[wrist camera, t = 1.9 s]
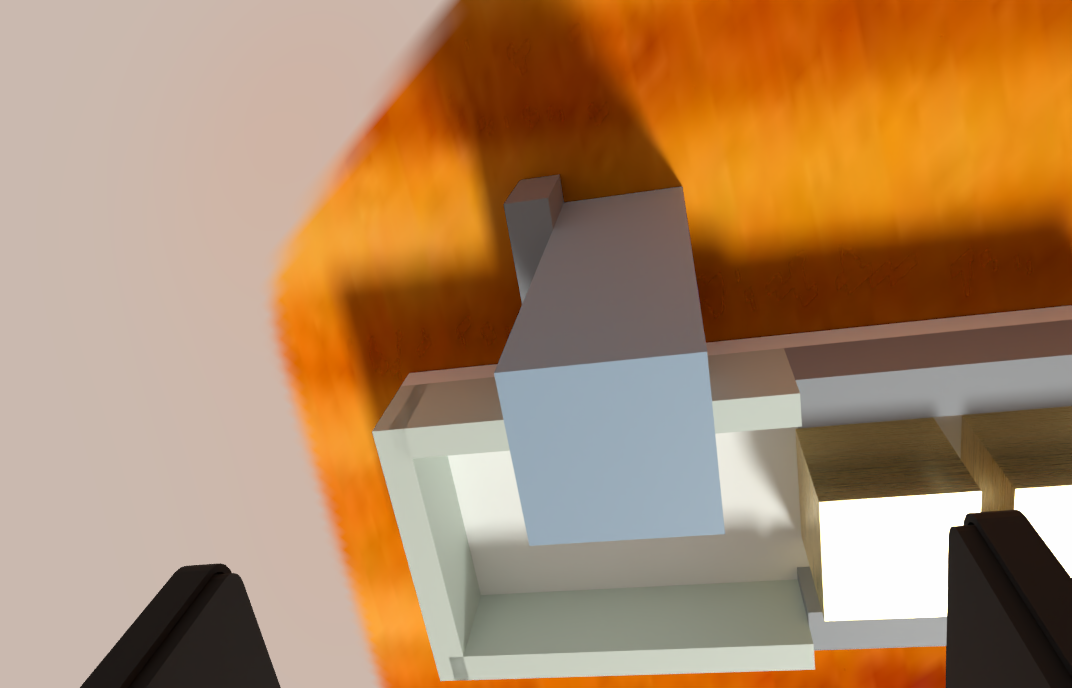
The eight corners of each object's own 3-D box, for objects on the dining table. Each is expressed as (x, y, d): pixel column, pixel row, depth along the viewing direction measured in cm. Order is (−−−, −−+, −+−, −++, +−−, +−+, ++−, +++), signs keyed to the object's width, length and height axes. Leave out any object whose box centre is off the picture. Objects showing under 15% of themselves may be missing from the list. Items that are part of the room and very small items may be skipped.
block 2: (961, 415, 25) (1015, 488, 21) (1109, 402, 24) (1192, 477, 20) (958, 526, 26) (1008, 613, 22) (1098, 518, 25) (1172, 607, 22)
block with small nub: (520, 180, 25) (414, 333, 14) (679, 157, 24) (702, 302, 13) (548, 339, 27) (475, 586, 16) (696, 324, 26) (728, 573, 15)
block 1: (795, 428, 26) (818, 501, 22) (933, 417, 25) (981, 491, 21) (801, 535, 27) (824, 621, 23) (931, 528, 26) (976, 614, 23)
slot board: (408, 373, 28) (372, 431, 24) (1341, 277, 23) (1473, 333, 19) (465, 599, 31) (440, 681, 28) (1283, 560, 26) (1384, 652, 23)
